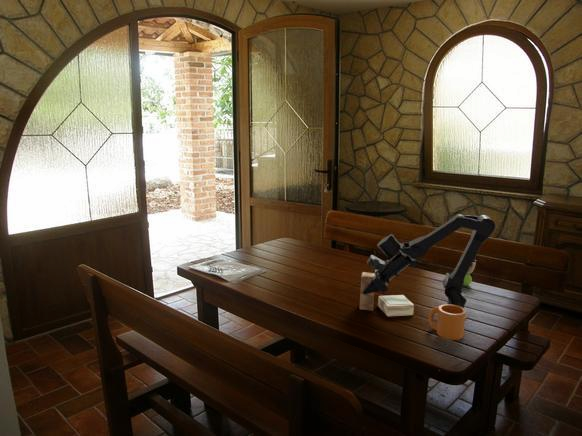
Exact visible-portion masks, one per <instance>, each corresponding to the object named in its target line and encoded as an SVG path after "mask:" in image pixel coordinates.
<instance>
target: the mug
mask: <svg viewBox="0 0 582 436" xmlns="http://www.w3.org/2000/svg"><path fill="white" fill-rule="evenodd" d="M436 314H437V323H436V322H435V319H434V316H435V315H436ZM466 315H467V310H466V308H465V307H464V308H462V307H460V306H457V305H452V304H447V303H445V304H440V305H439V306H435V307H432V308H431V309H430V310H429V312H428V316H427V318H428V322H429V326H431V328H432V329H433V330H434V331H436V334H437V335H438V336H439V337H441V338H444V339H446V340H451V341H452V340H454V341H458V340H461V339H463V338H464V334H465V325H466V319H465V318H466V317H467V316H466Z"/></svg>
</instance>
